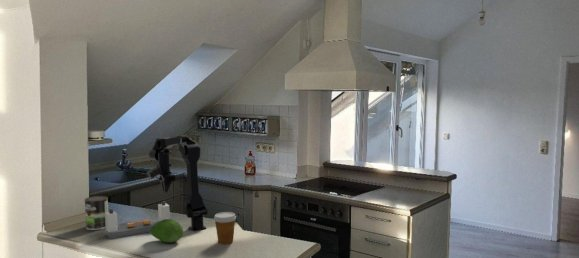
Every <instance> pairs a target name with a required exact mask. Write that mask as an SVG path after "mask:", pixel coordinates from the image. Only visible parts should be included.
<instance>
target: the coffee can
mask: <svg viewBox="0 0 579 258" xmlns="http://www.w3.org/2000/svg"><path fill="white" fill-rule="evenodd" d="M108 199H109V197H108V196H105V195H95V196H94V195H93V196H89V197H86V198H84V205H85V206H84V207H85V208H84V209H85V210H84V211H85V226H86V227H85V229H86V230H88V231H100V230H104V229H106V212H109V203H108Z"/></svg>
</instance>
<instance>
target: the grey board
mask: <svg viewBox="0 0 579 258" xmlns="http://www.w3.org/2000/svg"><path fill="white" fill-rule="evenodd" d="M150 222H151V223H150V224H142V223H137V224H135V226H132V227H127V224H126V225H121V226H120V225H119V226H118V231H115V232H108V231H107V230H106V229H105V235H106V237H107V238H108V239H109V240H112V239H118V238H122V237H123V238H124V237H128V236H133V235H134V236H135V235H139V234H145V233H150V231H151V228H152V226H153V225H154V224H156V223H157V222H160V221H159V219H155V220H150Z"/></svg>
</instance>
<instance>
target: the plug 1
mask: <svg viewBox="0 0 579 258" xmlns="http://www.w3.org/2000/svg"><path fill="white" fill-rule="evenodd" d="M118 223H119V222H118V213H117V211H114V209H113V208H112V209H111V208H110V209H108V212H106V228H105V231H106V230H107V231H108V232H115V231H118V227H119V225H118Z"/></svg>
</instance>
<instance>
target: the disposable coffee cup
mask: <svg viewBox="0 0 579 258" xmlns="http://www.w3.org/2000/svg"><path fill="white" fill-rule="evenodd" d="M236 219H237V216H236V214H235V213H234V212H231V211H224V212H223V211H222V212H218V213H216V214H215V215H214V217H213V220H214V224H215V229H216V230H215V231H216V234H217V235H216V237H217V242H218V244H220V245H230V244H232V243H234V235H235V234H234V233H235V224H236Z"/></svg>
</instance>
